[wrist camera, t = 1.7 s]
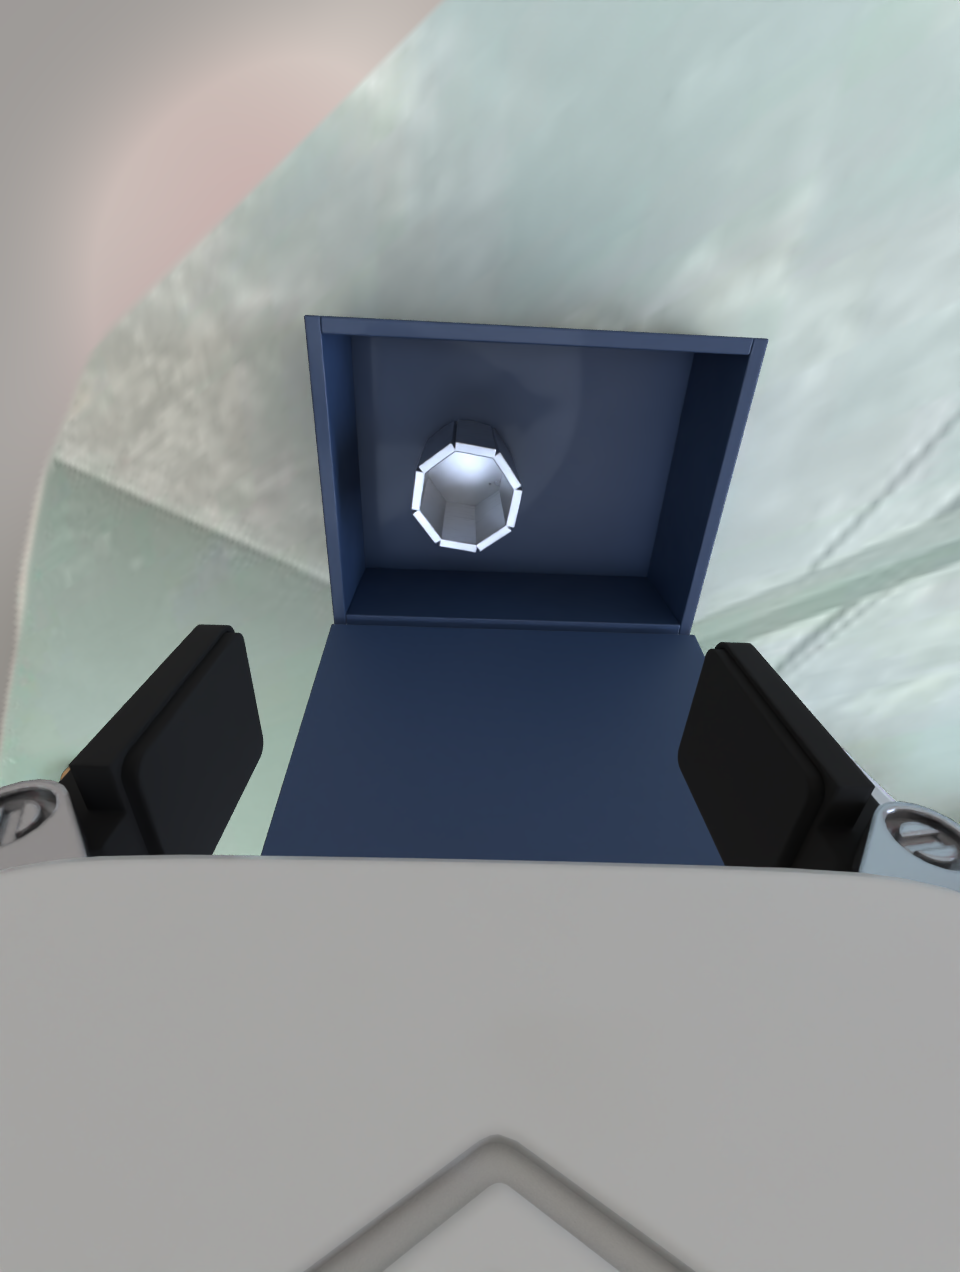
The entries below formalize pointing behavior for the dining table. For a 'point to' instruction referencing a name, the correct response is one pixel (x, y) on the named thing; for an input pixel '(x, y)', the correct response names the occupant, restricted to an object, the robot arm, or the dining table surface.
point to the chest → (529, 469)
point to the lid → (495, 748)
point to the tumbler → (466, 487)
